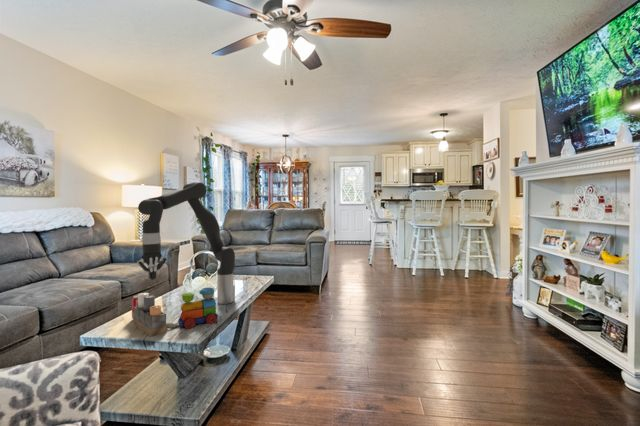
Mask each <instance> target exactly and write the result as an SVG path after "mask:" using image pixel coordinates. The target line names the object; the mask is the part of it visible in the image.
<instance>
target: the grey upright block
mask: <svg viewBox="0 0 640 426" xmlns="http://www.w3.org/2000/svg"><path fill="white" fill-rule="evenodd" d="M155 296H156V295H149V296H146V297H144V312H146V313H147V312H150V307H152V306H156V304H155V302H156V299H155V298H156V297H155Z"/></svg>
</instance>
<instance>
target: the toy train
mask: <svg viewBox="0 0 640 426" xmlns="http://www.w3.org/2000/svg"><path fill="white" fill-rule="evenodd" d="M198 293H199V295H201V296H202V298H203V299H201V300H194V298H195V297H194V296H195V293H193V292H192V293H191V292H188V293H187V292H186V293H182V294H181V298H182V301H183V302H184V303H182V304H181V306H180V309H181V313H180V316H179V317H178V321H177V322H176V323H173V322H169V323H166V325H167V329H171V328H177V327H179V326H180V327H181V328H183V327H184V328H185V329H186V330H190V329H193V328H194V327H196V325H199V324H202V323H206V324H208V325H212V324H215V323H216V321H217V320H218V319H219V315H218V313H217V303H216V302H217V301H216V299H215V298H214V295H215V289H214V288H213V287H203V288H201V290H199V292H198ZM193 300H194V301H193Z"/></svg>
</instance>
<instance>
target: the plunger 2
mask: <svg viewBox="0 0 640 426" xmlns="http://www.w3.org/2000/svg"><path fill="white" fill-rule="evenodd" d="M161 311H162V305H158V304H155V306H152V307H150V316H151V317H153V316H157V315H161Z"/></svg>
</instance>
